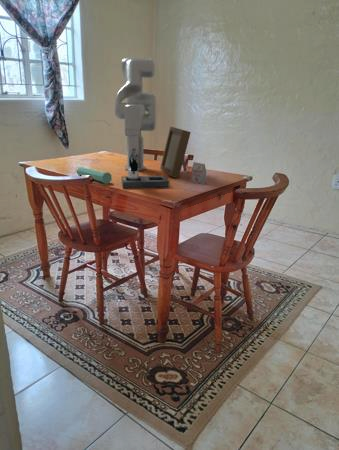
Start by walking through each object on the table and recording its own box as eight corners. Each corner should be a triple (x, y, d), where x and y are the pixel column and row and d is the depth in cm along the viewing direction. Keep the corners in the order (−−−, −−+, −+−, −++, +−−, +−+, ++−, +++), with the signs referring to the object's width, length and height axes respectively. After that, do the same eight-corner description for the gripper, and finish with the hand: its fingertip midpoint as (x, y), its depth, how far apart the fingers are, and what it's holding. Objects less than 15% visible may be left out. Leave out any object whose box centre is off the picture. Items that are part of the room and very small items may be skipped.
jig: (121, 182, 177) (121, 176, 176) (164, 181, 181) (164, 175, 180) (122, 188, 166) (122, 181, 165) (168, 187, 170) (169, 180, 169)
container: (73, 174, 188) (100, 182, 171) (76, 164, 187) (103, 170, 171) (82, 177, 192) (110, 185, 176) (85, 167, 192) (113, 173, 175)
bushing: (128, 184, 175) (127, 168, 172) (138, 183, 176) (138, 167, 173) (128, 186, 170) (128, 170, 167) (139, 186, 171) (139, 169, 168)
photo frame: (171, 178, 190) (172, 130, 181) (160, 170, 209) (160, 126, 200) (197, 176, 194) (199, 130, 185) (183, 169, 213) (185, 126, 205)
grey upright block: (195, 180, 185) (196, 161, 181) (205, 183, 181) (206, 163, 177) (190, 182, 182) (191, 162, 179) (201, 184, 178) (202, 164, 175)
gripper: (123, 130, 172) (124, 165, 178) (126, 134, 156) (126, 173, 162) (139, 130, 173) (139, 164, 179) (143, 135, 157) (143, 172, 163)
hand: (133, 168), depth 171 cm, fingers open, 9 cm apart
